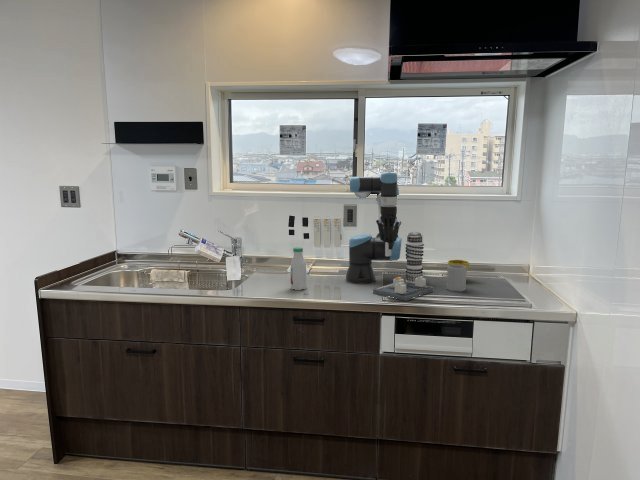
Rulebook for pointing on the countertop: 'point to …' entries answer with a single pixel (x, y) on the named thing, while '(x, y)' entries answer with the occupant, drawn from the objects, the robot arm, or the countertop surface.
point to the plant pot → (459, 263)
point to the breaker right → (420, 281)
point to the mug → (456, 278)
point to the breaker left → (400, 288)
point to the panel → (410, 293)
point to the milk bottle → (298, 270)
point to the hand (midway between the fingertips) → (388, 255)
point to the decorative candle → (414, 256)
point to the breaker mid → (397, 281)
